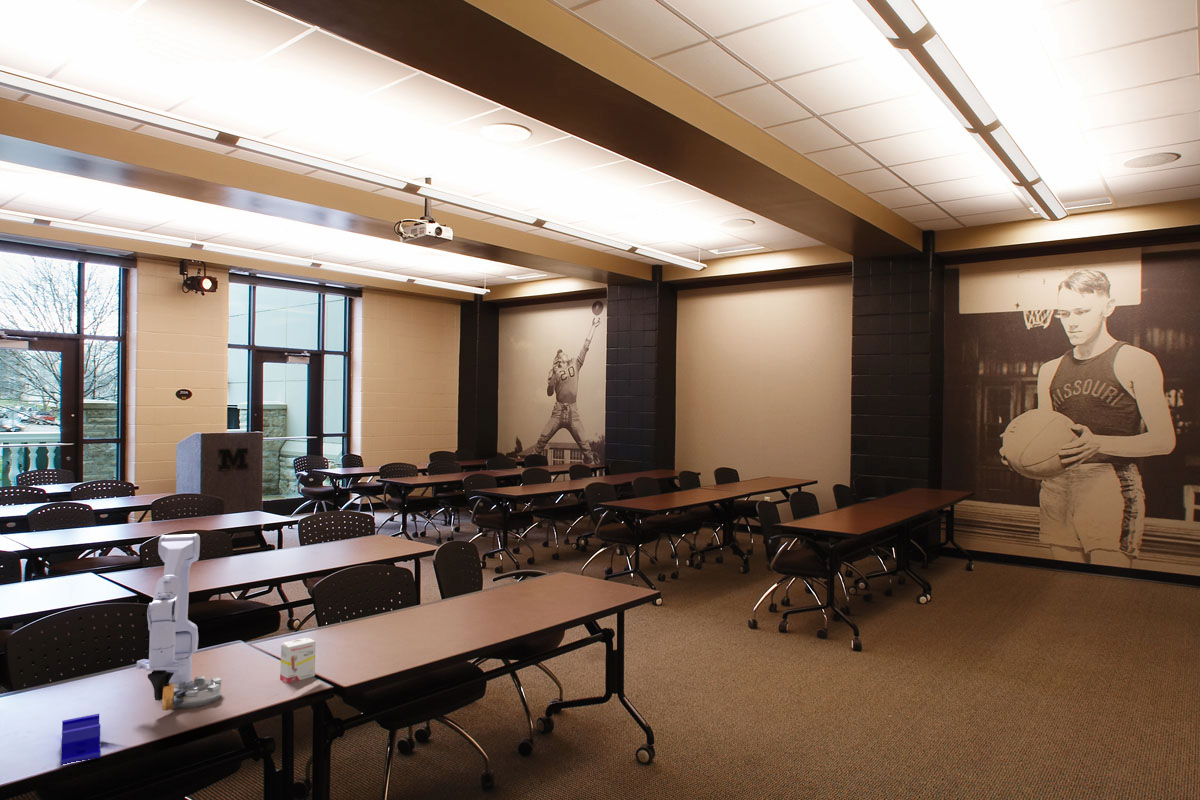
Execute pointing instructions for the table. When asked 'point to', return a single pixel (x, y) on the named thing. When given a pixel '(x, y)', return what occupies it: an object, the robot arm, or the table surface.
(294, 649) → the ink box
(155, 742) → the table surface
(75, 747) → the mounting bracket
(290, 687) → the table surface
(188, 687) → the grey toy battleship
